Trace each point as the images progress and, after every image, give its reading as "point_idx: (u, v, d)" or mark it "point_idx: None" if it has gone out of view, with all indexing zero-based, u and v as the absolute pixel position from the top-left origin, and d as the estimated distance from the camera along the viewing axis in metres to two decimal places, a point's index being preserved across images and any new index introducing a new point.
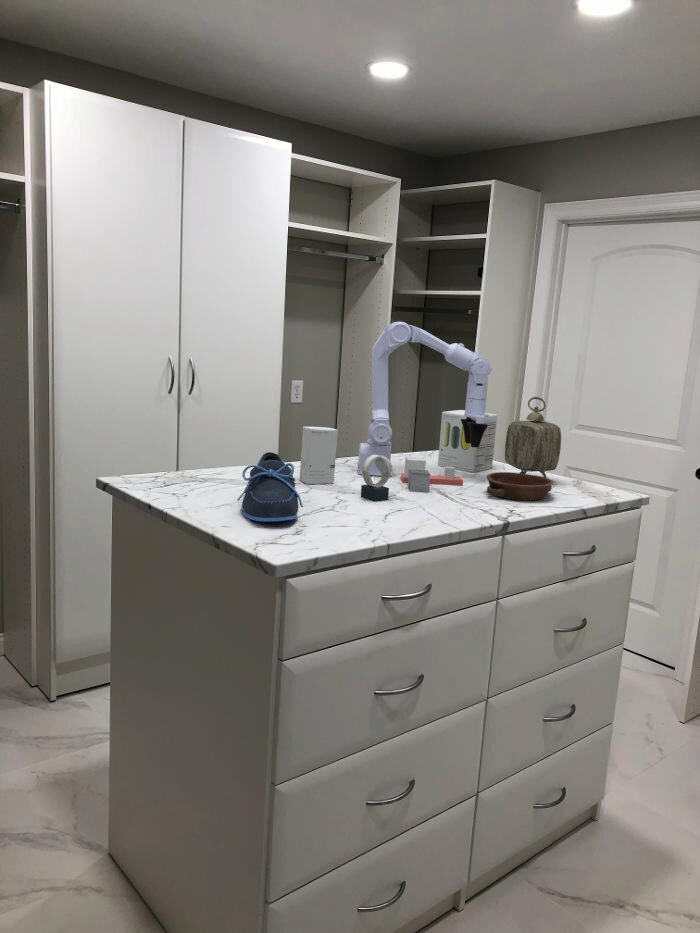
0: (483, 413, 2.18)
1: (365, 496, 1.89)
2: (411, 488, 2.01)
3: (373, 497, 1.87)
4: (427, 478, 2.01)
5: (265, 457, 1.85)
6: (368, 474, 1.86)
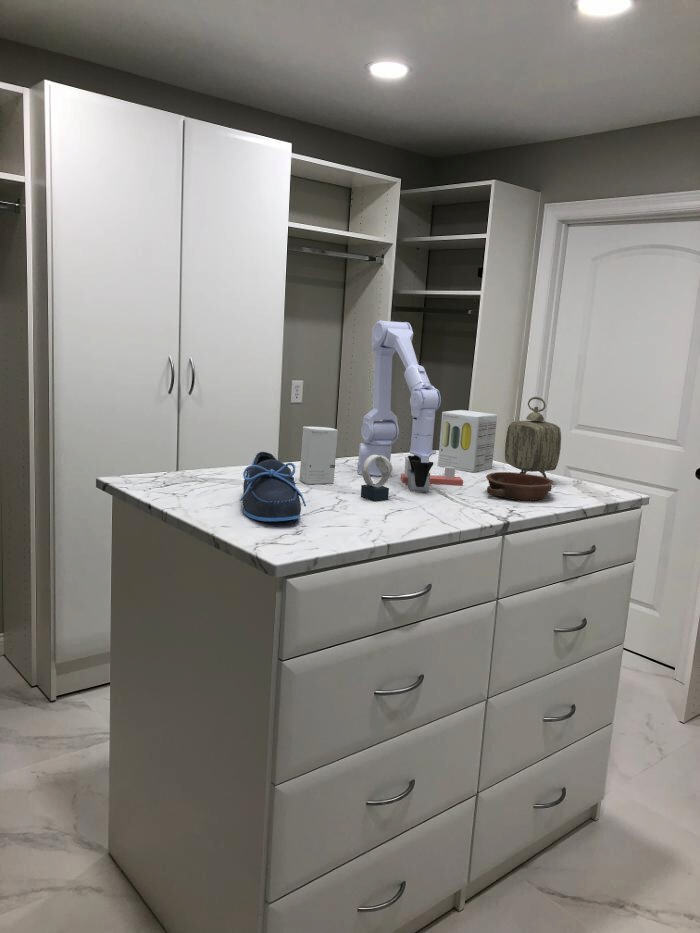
0: (430, 450, 2.00)
1: (365, 496, 1.89)
2: (411, 488, 2.01)
3: (373, 497, 1.87)
4: (427, 478, 2.01)
5: (259, 457, 1.85)
6: (368, 474, 1.86)
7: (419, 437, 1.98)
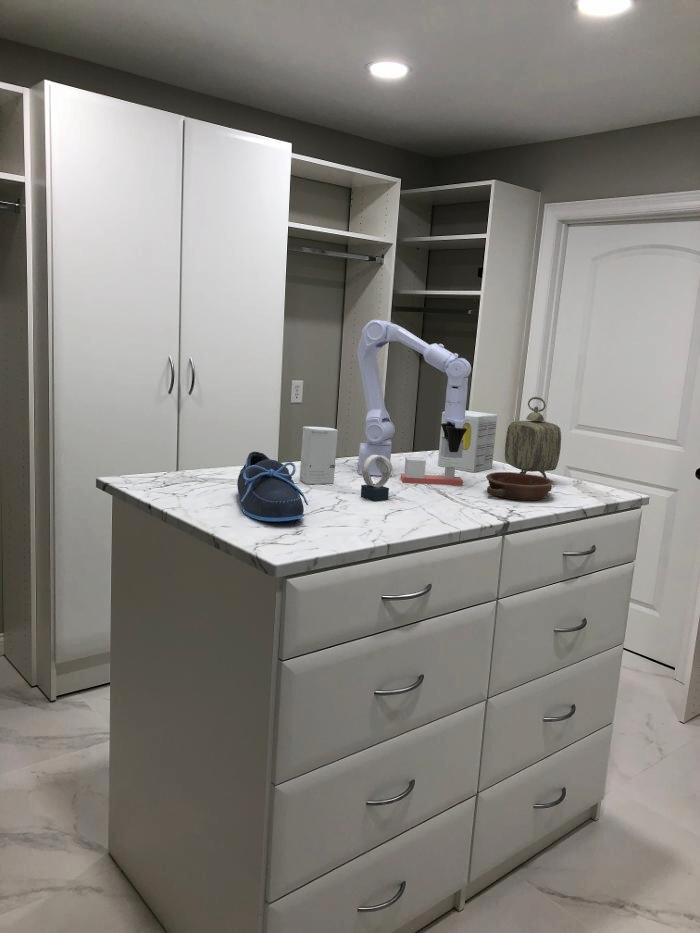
0: (463, 417, 2.10)
1: (365, 496, 1.89)
2: (445, 454, 2.11)
3: (373, 497, 1.87)
4: (460, 444, 2.11)
5: (251, 457, 1.85)
6: (368, 474, 1.86)
7: (453, 404, 2.09)
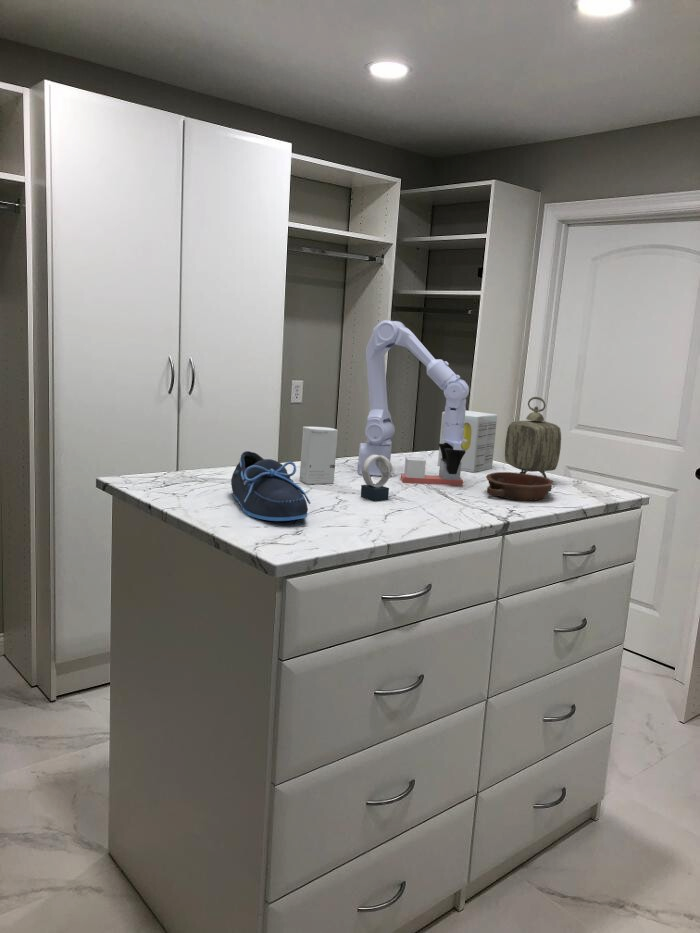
0: (461, 438, 2.11)
1: (365, 496, 1.89)
2: (443, 476, 2.12)
3: (373, 497, 1.87)
4: None
5: (244, 456, 1.84)
6: (368, 474, 1.86)
7: (451, 426, 2.10)
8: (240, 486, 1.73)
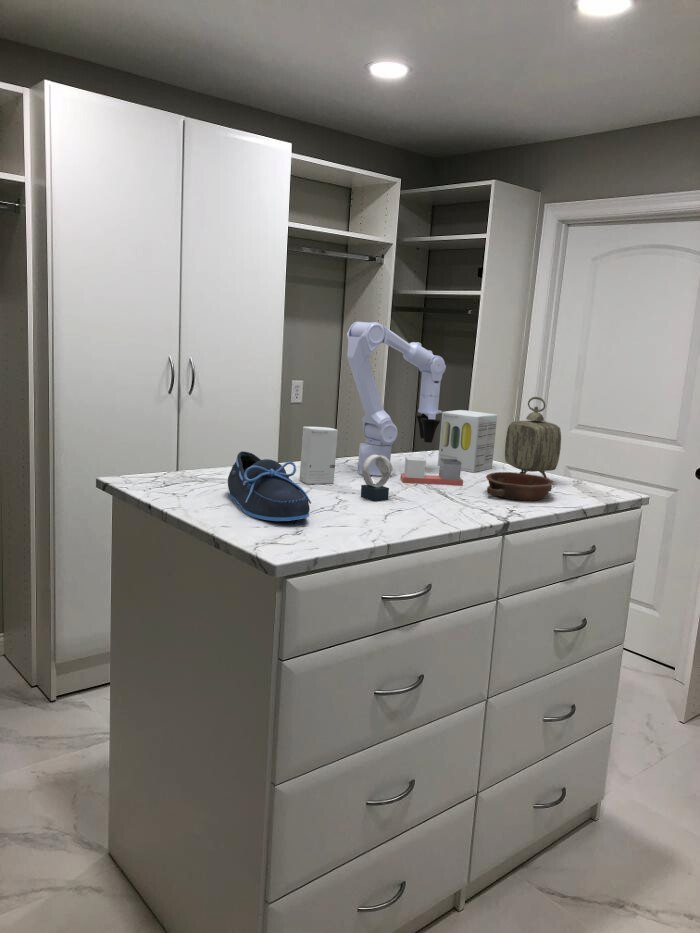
0: (436, 409, 2.26)
1: (365, 496, 1.89)
2: (443, 476, 2.12)
3: (373, 497, 1.87)
4: (458, 467, 2.12)
5: (240, 457, 1.84)
6: (368, 474, 1.86)
7: (427, 397, 2.25)
8: (239, 486, 1.73)
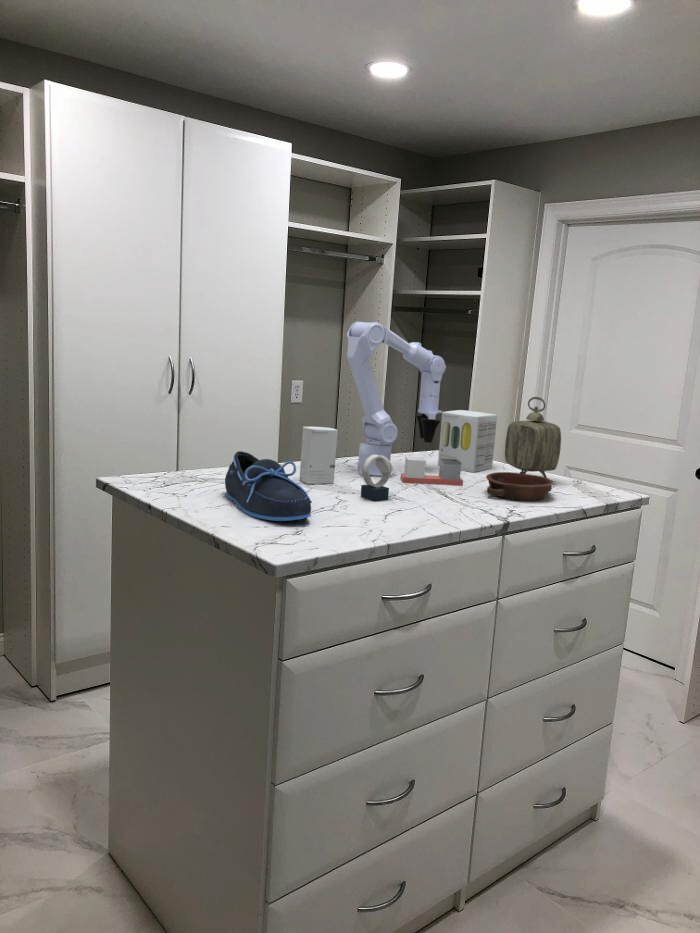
0: (436, 409, 2.26)
1: (365, 496, 1.89)
2: (443, 476, 2.12)
3: (373, 497, 1.87)
4: (458, 467, 2.12)
5: None
6: (368, 474, 1.86)
7: (427, 397, 2.25)
8: (238, 486, 1.73)
